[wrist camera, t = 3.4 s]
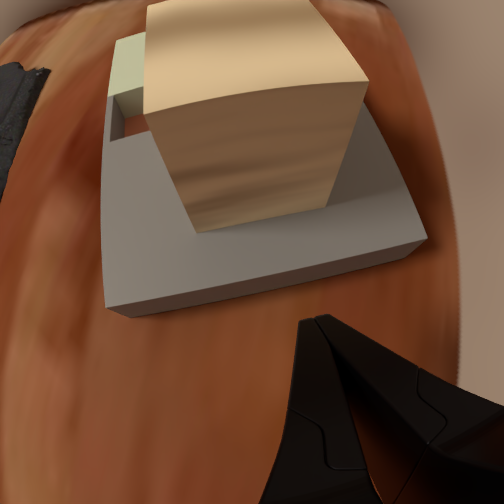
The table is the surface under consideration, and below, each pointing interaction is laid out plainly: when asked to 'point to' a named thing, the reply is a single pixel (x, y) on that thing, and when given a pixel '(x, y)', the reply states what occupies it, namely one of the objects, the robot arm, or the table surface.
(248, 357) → the table surface
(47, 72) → the dark slate chunk
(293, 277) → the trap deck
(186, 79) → the maple block
